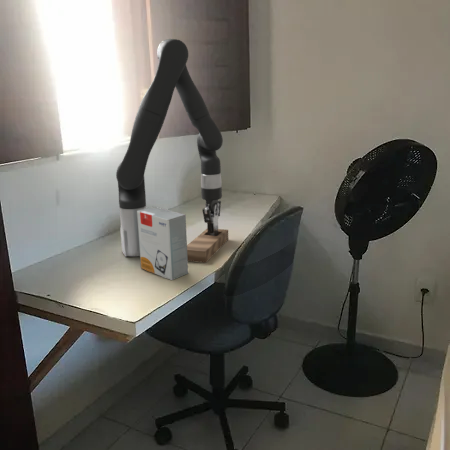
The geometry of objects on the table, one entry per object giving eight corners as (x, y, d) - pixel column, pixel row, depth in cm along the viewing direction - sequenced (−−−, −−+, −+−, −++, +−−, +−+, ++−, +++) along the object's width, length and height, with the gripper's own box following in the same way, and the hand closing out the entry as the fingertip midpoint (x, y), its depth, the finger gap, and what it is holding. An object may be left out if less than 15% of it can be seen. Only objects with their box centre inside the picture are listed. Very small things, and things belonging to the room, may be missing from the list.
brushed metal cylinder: (209, 238, 187) (209, 217, 185) (206, 235, 191) (205, 214, 189) (220, 236, 189) (219, 215, 186) (216, 233, 192) (215, 213, 190)
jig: (205, 262, 172) (205, 251, 171) (182, 260, 174) (182, 249, 173) (228, 239, 194) (228, 229, 193) (207, 238, 197) (207, 228, 196)
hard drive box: (140, 269, 168) (135, 210, 162) (157, 262, 173) (154, 205, 167) (171, 281, 157) (167, 219, 152) (189, 273, 163) (186, 213, 157)
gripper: (214, 190, 177) (216, 237, 182) (227, 182, 190) (228, 226, 195) (194, 189, 179) (196, 235, 184) (208, 181, 192) (209, 224, 197)
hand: (212, 230), depth 189 cm, fingers closed on brushed metal cylinder, 4 cm apart
